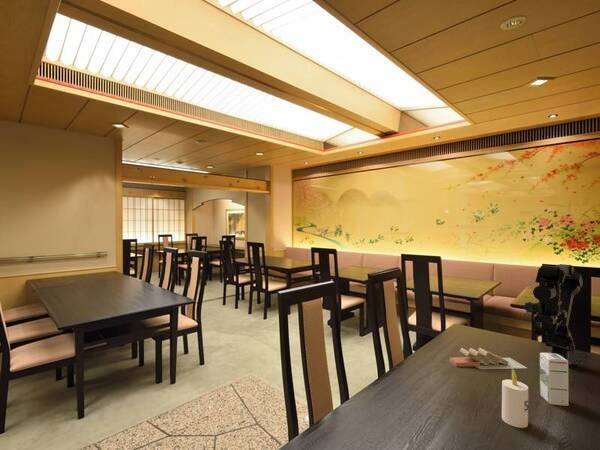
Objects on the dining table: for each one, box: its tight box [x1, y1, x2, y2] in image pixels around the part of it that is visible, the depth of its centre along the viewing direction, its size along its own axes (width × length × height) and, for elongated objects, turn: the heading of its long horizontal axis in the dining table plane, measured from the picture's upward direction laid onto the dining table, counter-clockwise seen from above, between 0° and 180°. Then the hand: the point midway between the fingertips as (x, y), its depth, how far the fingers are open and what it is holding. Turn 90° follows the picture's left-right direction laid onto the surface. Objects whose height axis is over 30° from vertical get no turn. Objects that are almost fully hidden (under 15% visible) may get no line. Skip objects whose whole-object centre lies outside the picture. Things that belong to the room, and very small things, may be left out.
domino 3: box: [468, 347, 499, 366], centre depth 131 cm, size 2×5×10 cm
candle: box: [501, 368, 530, 429], centre depth 93 cm, size 6×6×15 cm
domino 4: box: [477, 347, 508, 365], centre depth 131 cm, size 2×5×10 cm
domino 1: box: [449, 356, 480, 368], centre depth 130 cm, size 2×5×10 cm
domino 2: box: [459, 347, 490, 366], centre depth 131 cm, size 2×5×10 cm
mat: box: [475, 357, 528, 370], centre depth 131 cm, size 20×10×1 cm, turn 94°
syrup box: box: [539, 352, 569, 407], centre depth 104 cm, size 6×6×14 cm
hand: (550, 337), depth 126 cm, fingers closed
